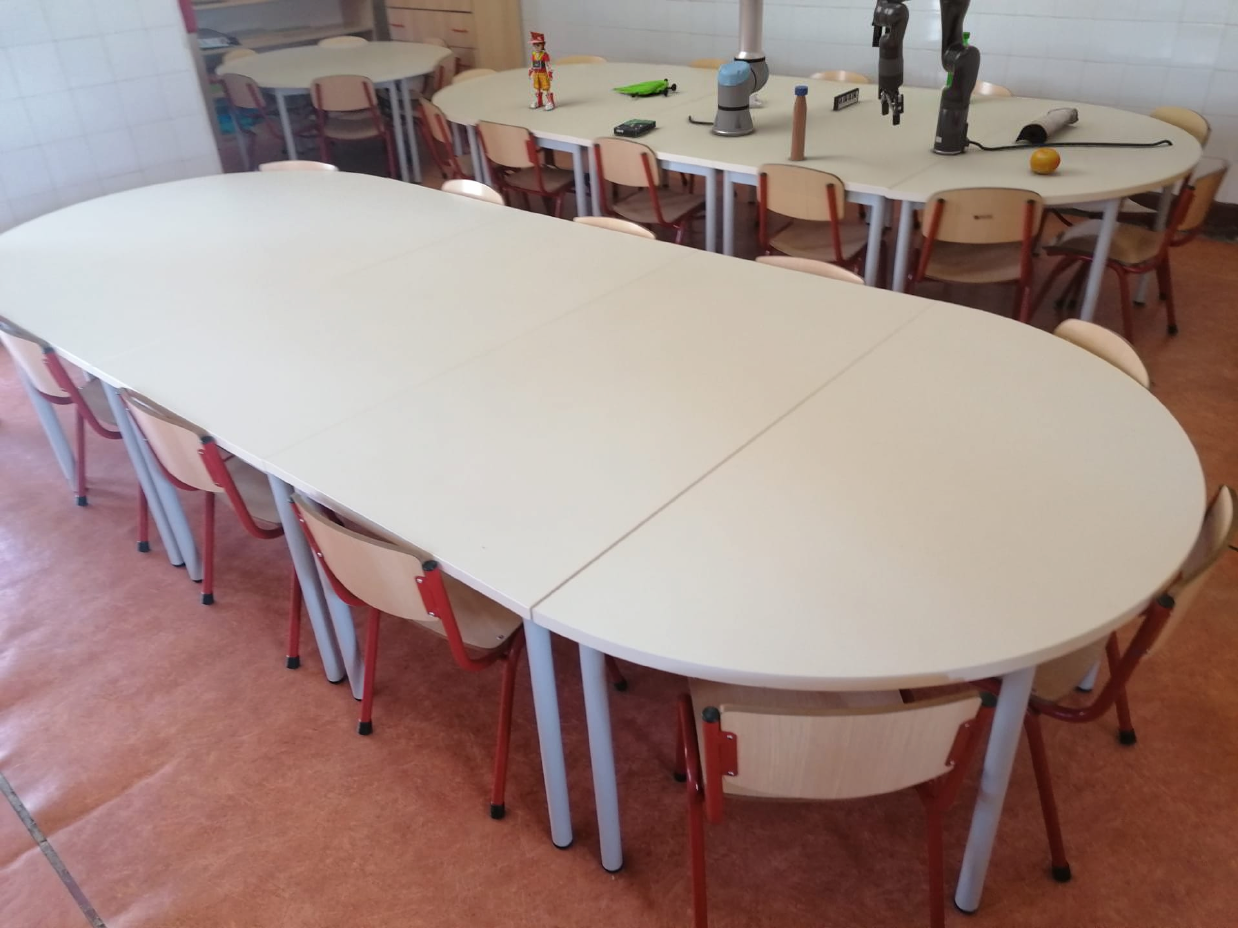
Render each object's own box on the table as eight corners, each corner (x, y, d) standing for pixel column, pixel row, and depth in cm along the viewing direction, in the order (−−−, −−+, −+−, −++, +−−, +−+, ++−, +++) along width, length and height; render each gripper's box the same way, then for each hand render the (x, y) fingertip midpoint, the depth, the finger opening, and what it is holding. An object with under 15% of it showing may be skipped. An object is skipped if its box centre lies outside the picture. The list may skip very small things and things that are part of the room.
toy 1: (525, 109, 381) (517, 32, 364) (534, 104, 388) (527, 28, 371) (550, 110, 377) (543, 32, 360) (559, 105, 384) (553, 28, 367)
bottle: (806, 159, 303) (810, 89, 290) (794, 161, 302) (798, 90, 289) (799, 156, 307) (804, 86, 294) (788, 158, 306) (792, 88, 293)
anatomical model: (728, 79, 370) (752, 73, 369) (732, 105, 376) (756, 98, 375) (735, 87, 358) (759, 81, 357) (739, 114, 364) (763, 107, 363)
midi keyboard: (835, 110, 353) (837, 97, 350) (833, 110, 354) (834, 97, 351) (858, 101, 363) (859, 88, 361) (855, 101, 364) (856, 88, 361)
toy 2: (686, 85, 398) (631, 84, 414) (685, 72, 395) (629, 72, 411) (651, 104, 381) (596, 103, 397) (650, 92, 378) (594, 91, 394)
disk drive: (636, 138, 336) (656, 127, 346) (636, 130, 334) (656, 120, 344) (613, 135, 340) (633, 125, 351) (613, 128, 339) (633, 118, 349)
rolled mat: (1045, 112, 323) (1070, 95, 315) (1059, 134, 324) (1084, 117, 315) (1011, 136, 306) (1036, 118, 298) (1025, 158, 306) (1051, 141, 298)
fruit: (1025, 163, 276) (1043, 140, 272) (1023, 166, 283) (1041, 143, 280) (1048, 179, 274) (1067, 155, 271) (1046, 181, 282) (1064, 158, 279)
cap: (810, 94, 291) (810, 87, 290) (798, 96, 290) (799, 89, 289) (803, 92, 295) (804, 85, 293) (792, 94, 294) (792, 86, 292)
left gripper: (889, -22, 285) (882, 51, 297) (911, -32, 302) (903, 37, 314) (866, -22, 288) (860, 49, 300) (889, -32, 305) (882, 36, 317)
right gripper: (912, 74, 273) (911, 125, 284) (892, 58, 283) (892, 108, 294) (888, 81, 273) (888, 131, 284) (870, 65, 283) (870, 114, 294)
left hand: (882, 43), depth 307 cm, fingers open, 13 cm apart
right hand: (890, 119), depth 289 cm, fingers open, 8 cm apart
